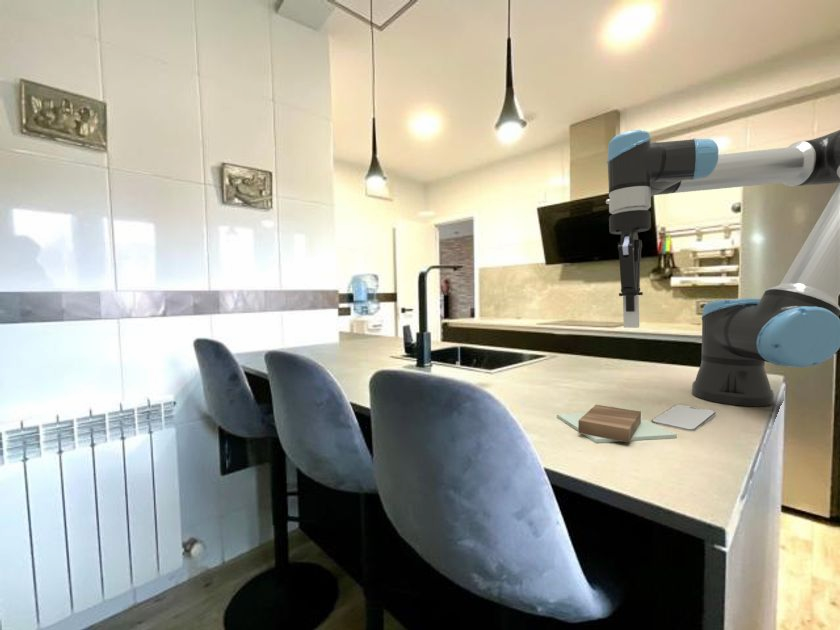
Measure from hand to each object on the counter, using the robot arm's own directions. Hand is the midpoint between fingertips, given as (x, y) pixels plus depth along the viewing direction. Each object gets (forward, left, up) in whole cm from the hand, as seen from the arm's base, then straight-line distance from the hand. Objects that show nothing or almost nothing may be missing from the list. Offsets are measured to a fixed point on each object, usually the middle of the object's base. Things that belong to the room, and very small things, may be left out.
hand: (631, 327), depth 81 cm
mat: (+9, +7, -18) cm, 21 cm away
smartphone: (-8, +5, -19) cm, 21 cm away
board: (+6, +5, -16) cm, 18 cm away
